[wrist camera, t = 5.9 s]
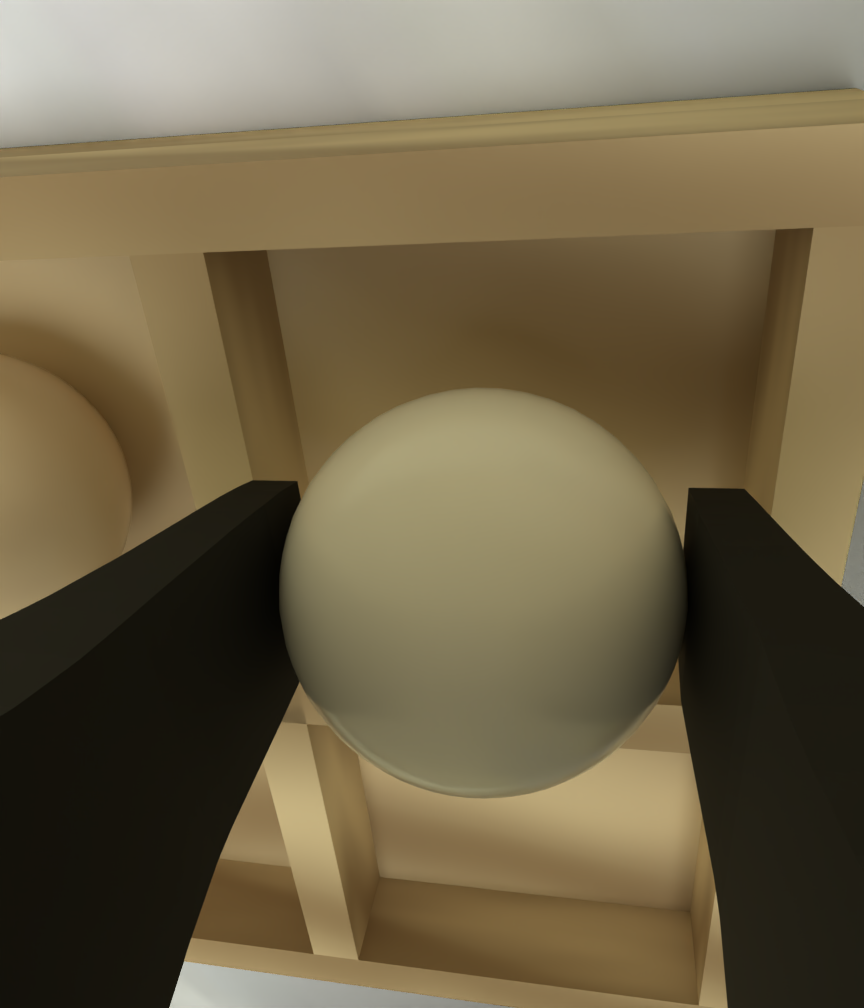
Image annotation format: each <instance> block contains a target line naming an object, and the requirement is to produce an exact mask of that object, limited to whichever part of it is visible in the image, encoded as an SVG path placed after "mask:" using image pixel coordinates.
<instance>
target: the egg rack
mask: <svg viewBox="0 0 864 1008" xmlns="http://www.w3.org/2000/svg"><path fill="white" fill-rule="evenodd" d="M0 353H1V354H5V355H9V356H12V357H15V358H18V359H21V360H24V361H27V362H29V363H32V364H34V365H36V366H38V367H41V368H43V369H45V370H47V371H49V372H50V373H52V374H54V375H56V376H58V377H59V378H61V379H62V380H63V381H65V382H66V383H68V384H69V385H71V386H72V387H73V388H74V389H76V390H77V391H78V392H79V393H80V394H81V395H83V396H84V397H85V398H86V399H87V400H88V401H89V402H90V403H91V404H92V405H93V406H94V407H95V408H96V410H97V411H98V412H99V413H100V415H101V416H102V417H103V418H104V420H105V421H106V422H107V424H108V425H109V427H110V429H111V430H112V432H113V433H114V435H115V437H116V439H117V441H118V443H119V445H120V447H121V449H122V452H123V455H124V457H125V460H126V464H127V468H128V472H129V476H130V481H131V489H132V516H131V524H130V528H129V533H128V537H127V541H126V545H125V548H124V550H123V552H122V555H123V554H125V553H126V552H128V551H130V550H131V549H133V548H135V547H136V546H138V545H140V544H141V543H143V542H145V541H146V540H148V539H150V538H151V537H153V536H155V535H156V534H158V533H160V532H161V531H163V530H165V529H166V528H168V527H170V526H171V525H173V524H175V523H176V522H178V521H180V520H181V519H183V518H185V517H186V516H188V515H190V514H191V513H193V512H195V511H196V510H198V509H200V508H201V507H203V506H205V505H206V504H208V503H210V502H211V501H213V500H215V499H217V498H218V497H220V496H222V495H224V494H225V493H227V492H229V491H231V490H233V489H235V488H237V487H239V486H241V485H243V484H245V483H247V482H250V481H252V480H268V481H298V487H299V492H300V497H301V499H302V497H303V495H304V493H305V491H306V489H307V487H308V485H309V484H310V482H311V481H312V479H313V478H314V477H315V475H316V474H317V473H318V471H319V470H320V469H321V467H322V466H323V465H324V463H325V462H326V461H327V460H328V458H329V457H330V456H331V455H332V453H333V452H334V451H335V450H336V449H337V448H339V447H340V446H341V445H342V444H343V443H344V442H345V441H346V440H347V439H348V438H349V437H350V436H351V435H353V434H354V433H355V432H357V431H358V430H359V429H361V428H362V427H364V426H365V425H366V424H368V423H369V422H371V421H372V420H373V419H375V418H376V417H378V416H379V415H381V414H383V413H385V412H387V411H389V410H391V409H393V408H395V407H397V406H399V405H402V404H404V403H407V402H410V401H413V400H415V399H418V398H421V397H424V396H427V395H430V394H435V393H440V392H444V391H449V390H455V389H466V388H502V389H508V390H515V391H521V392H527V393H530V394H534V395H537V396H541V397H545V398H548V399H551V400H554V401H556V402H558V403H561V404H563V405H565V406H568V407H570V408H573V409H575V410H576V411H578V412H580V413H581V414H583V415H585V416H587V417H588V418H590V419H592V420H594V421H595V422H597V423H598V424H599V425H600V426H602V427H603V428H604V429H606V430H607V431H608V432H610V433H611V434H612V435H614V436H615V437H616V438H617V439H618V440H619V441H620V442H621V443H622V444H623V445H624V446H625V447H626V448H627V449H628V450H629V451H630V452H631V453H632V454H633V455H634V456H635V457H636V458H637V459H638V460H639V461H640V462H641V464H642V465H643V466H644V467H645V469H646V470H647V471H648V473H649V474H650V475H651V477H652V478H653V480H654V481H655V483H656V485H657V487H658V489H659V490H660V492H661V494H662V496H663V498H664V499H665V501H666V503H667V505H668V507H669V509H670V510H671V513H672V515H673V518H674V521H675V524H676V526H677V529H678V532H679V535H680V539H681V543H682V547H683V546H684V534H685V523H686V511H687V500H688V488H738V489H745V490H746V491H747V492H748V493H749V494H750V495H751V496H752V497H753V498H754V499H755V500H756V501H757V502H758V503H759V504H760V505H761V506H762V507H763V508H764V509H765V510H766V512H767V513H768V514H769V515H770V516H771V517H772V518H773V519H774V520H775V521H776V522H777V523H778V524H779V525H780V526H781V527H782V528H783V530H784V531H785V532H786V533H787V534H788V535H789V536H790V537H791V538H792V539H793V540H794V541H795V542H796V543H797V544H798V545H799V546H800V547H801V548H802V549H803V550H804V551H805V552H806V553H807V554H808V555H809V556H810V557H811V558H812V559H813V560H814V561H815V562H816V563H817V564H818V565H819V566H820V567H821V568H822V569H823V570H824V571H825V572H826V573H827V574H828V575H829V576H830V577H831V578H832V579H833V580H834V581H835V582H837V583H838V584H839V585H840V586H841V584H842V580H843V575H844V570H845V565H846V560H847V556H848V551H849V546H850V541H851V536H852V532H853V527H854V522H855V517H856V512H857V508H858V503H859V498H860V493H861V489H862V484H863V479H864V91H862V90H860V89H857V88H853V89H839V90H824V91H810V92H796V93H782V94H768V95H753V96H739V97H725V98H711V99H697V100H683V101H668V102H654V103H640V104H626V105H612V106H598V107H583V108H569V109H555V110H541V111H527V112H512V113H498V114H484V115H470V116H456V117H442V118H427V119H413V120H399V121H385V122H371V123H356V124H342V125H328V126H314V127H300V128H286V129H271V130H257V131H243V132H229V133H215V134H200V135H186V136H172V137H158V138H144V139H130V140H115V141H101V142H87V143H73V144H59V145H45V146H30V147H16V148H2V149H0ZM184 961H186V962H193V963H201V964H208V965H215V966H222V967H229V968H236V969H244V970H251V971H258V972H265V973H272V974H279V975H286V976H294V977H301V978H308V979H315V980H322V981H329V982H336V983H344V984H351V985H358V986H365V987H372V988H379V989H387V990H394V991H401V992H408V993H415V994H422V995H429V996H437V997H444V998H451V999H458V1000H465V1001H472V1002H479V1003H487V1004H494V1005H501V1006H508V1007H515V1008H728V1006H727V995H726V983H725V972H724V961H723V949H722V938H721V927H720V917H719V910H718V903H717V896H716V889H715V882H714V875H713V870H712V865H711V859H710V854H709V849H708V844H707V838H706V833H705V828H704V823H703V817H702V812H701V807H700V801H699V796H698V791H697V786H696V780H695V775H694V770H693V764H692V759H691V754H690V748H689V743H688V738H687V732H686V727H685V721H684V716H683V710H682V705H681V695H680V680H679V664H678V660H677V663H676V666H675V669H674V671H673V673H672V675H671V677H670V680H669V682H668V684H667V686H666V688H665V690H664V692H663V694H662V695H661V697H660V699H659V701H658V703H657V704H656V706H655V707H654V708H653V710H652V711H651V712H650V714H649V715H648V716H647V718H646V719H645V720H644V722H643V723H642V724H641V725H640V727H639V728H638V729H637V731H636V732H635V733H634V734H633V735H632V736H631V737H630V738H629V739H628V740H627V741H626V742H625V743H624V744H623V745H622V746H621V747H620V748H618V749H617V750H616V751H615V752H613V753H612V754H611V755H610V756H609V757H607V758H606V759H605V760H603V761H602V762H600V763H599V764H598V765H596V766H595V767H593V768H592V769H590V770H588V771H586V772H584V773H582V774H581V775H579V776H577V777H575V778H573V779H570V780H568V781H566V782H564V783H561V784H559V785H556V786H554V787H551V788H549V789H546V790H542V791H538V792H535V793H531V794H526V795H520V796H513V797H504V798H487V799H481V798H463V797H455V796H448V795H444V794H439V793H434V792H431V791H428V790H424V789H421V788H418V787H415V786H413V785H410V784H408V783H405V782H403V781H400V780H398V779H396V778H395V777H393V776H391V775H389V774H387V773H385V772H383V771H382V770H380V769H379V768H377V767H375V766H374V765H372V764H371V763H369V762H368V761H366V760H364V759H363V758H362V757H361V756H359V755H358V754H357V753H355V752H354V751H353V750H351V749H350V748H349V747H348V746H347V745H346V744H345V743H344V742H343V741H342V740H341V739H340V738H339V737H338V736H337V735H336V734H335V733H334V732H333V731H332V730H331V728H330V727H329V726H328V725H327V724H326V722H325V721H324V720H323V719H322V717H321V716H320V715H319V714H318V712H317V711H316V709H315V708H314V706H313V705H312V703H311V702H310V700H309V699H308V697H307V696H306V694H305V692H304V690H303V687H302V685H301V683H300V682H299V684H298V687H297V689H296V691H295V693H294V696H293V698H292V700H291V702H290V704H289V706H288V709H287V711H286V713H285V715H284V717H283V720H282V722H281V724H280V726H279V728H278V730H277V733H276V735H275V737H274V739H273V741H272V743H271V745H270V748H269V750H268V752H267V754H266V756H265V758H264V760H263V762H262V765H261V767H260V769H259V771H258V773H257V775H256V777H255V779H254V782H253V784H252V786H251V788H250V790H249V792H248V794H247V797H246V799H245V801H244V803H243V805H242V807H241V809H240V811H239V814H238V816H237V818H236V820H235V822H234V824H233V826H232V829H231V831H230V834H229V836H228V838H227V841H226V843H225V846H224V848H223V850H222V853H221V855H220V858H219V860H218V863H217V865H216V868H215V871H214V874H213V877H212V880H211V883H210V886H209V889H208V891H207V894H206V897H205V900H204V903H203V906H202V909H201V912H200V915H199V917H198V920H197V923H196V926H195V929H194V932H193V935H192V938H191V941H190V944H189V947H188V950H187V953H186V956H185V959H184Z"/></svg>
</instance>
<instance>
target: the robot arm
mask: <svg viewBox="0 0 864 1008" xmlns="http://www.w3.org/2000/svg"><path fill="white" fill-rule="evenodd" d="M300 501H301V497H300V492H299V487H298V481H268V480H252V481H250V482H247V483H245V484H243V485H241V486H239V487H237V488H235V489H233V490H231V491H229V492H227V493H225V494H224V495H222V496H220V497H218V498H217V499H215V500H213V501H211V502H210V503H208V504H206V505H205V506H203V507H201V508H200V509H198V510H196V511H195V512H193V513H191V514H190V515H188V516H186V517H185V518H183V519H181V520H180V521H178V522H176V523H175V524H173V525H171V526H170V527H168V528H166V529H165V530H163V531H161V532H160V533H158V534H156V535H155V536H153V537H151V538H150V539H148V540H146V541H145V542H143V543H141V544H140V545H138V546H136V547H135V548H133V549H131V550H130V551H128V552H126V553H125V554H123V555H121V556H119V557H118V558H116V559H114V560H112V561H110V562H109V563H107V564H105V565H103V566H101V567H100V568H98V569H96V570H94V571H92V572H90V573H89V574H87V575H85V576H83V577H81V578H80V579H78V580H76V581H74V582H72V583H71V584H69V585H67V586H65V587H63V588H62V589H60V590H58V591H56V592H54V593H53V594H51V595H49V596H47V597H45V598H43V599H41V600H39V601H37V602H35V603H33V604H31V605H29V606H27V607H25V608H23V609H21V610H19V611H17V612H15V613H13V614H11V615H9V616H7V617H5V618H2V619H0V1008H169V1006H170V1003H171V1000H172V997H173V994H174V991H175V988H176V984H177V981H178V978H179V975H180V972H181V969H182V966H183V962H184V959H185V956H186V953H187V950H188V947H189V944H190V941H191V938H192V935H193V932H194V929H195V926H196V923H197V920H198V917H199V915H200V912H201V909H202V906H203V903H204V900H205V897H206V894H207V891H208V889H209V886H210V883H211V880H212V877H213V874H214V871H215V868H216V865H217V863H218V860H219V858H220V855H221V853H222V850H223V848H224V846H225V843H226V841H227V838H228V836H229V834H230V831H231V829H232V826H233V824H234V822H235V820H236V818H237V816H238V814H239V811H240V809H241V807H242V805H243V803H244V801H245V799H246V797H247V794H248V792H249V790H250V788H251V786H252V784H253V782H254V779H255V777H256V775H257V773H258V771H259V769H260V767H261V765H262V762H263V760H264V758H265V756H266V754H267V752H268V750H269V748H270V745H271V743H272V741H273V739H274V737H275V735H276V733H277V730H278V728H279V726H280V724H281V722H282V720H283V717H284V715H285V713H286V711H287V709H288V706H289V704H290V702H291V700H292V698H293V696H294V693H295V691H296V689H297V687H298V684H299V682H300V681H299V679H298V677H297V675H296V673H295V670H294V668H293V666H292V663H291V660H290V657H289V654H288V651H287V648H286V644H285V639H284V634H283V629H282V623H281V617H280V611H279V573H280V567H281V560H282V553H283V549H284V545H285V540H286V536H287V533H288V530H289V527H290V524H291V521H292V518H293V515H294V513H295V511H296V509H297V507H298V505H299V503H300ZM683 552H684V557H685V562H686V567H687V586H688V613H687V620H686V626H685V633H684V637H683V642H682V647H681V651H680V654H679V657H678V664H679V680H680V695H681V705H682V710H683V716H684V721H685V727H686V732H687V738H688V743H689V748H690V754H691V759H692V764H693V770H694V775H695V780H696V786H697V791H698V796H699V801H700V807H701V812H702V817H703V823H704V828H705V833H706V838H707V844H708V849H709V854H710V859H711V865H712V870H713V875H714V882H715V889H716V896H717V903H718V910H719V917H720V927H721V938H722V949H723V961H724V972H725V983H726V995H727V1006H728V1008H864V607H863V606H862V605H861V604H860V603H859V602H857V601H856V600H855V599H854V598H853V597H852V596H851V595H850V594H848V593H847V592H846V591H845V590H844V589H843V588H842V587H841V586H840V585H839V584H838V583H837V582H835V581H834V580H833V579H832V578H831V577H830V576H829V575H828V574H827V573H826V572H825V571H824V570H823V569H822V568H821V567H820V566H819V565H818V564H817V563H816V562H815V561H814V560H813V559H812V558H811V557H810V556H809V555H808V554H807V553H806V552H805V551H804V550H803V549H802V548H801V547H800V546H799V545H798V544H797V543H796V542H795V541H794V540H793V539H792V538H791V537H790V536H789V535H788V534H787V533H786V532H785V531H784V530H783V528H782V527H781V526H780V525H779V524H778V523H777V522H776V521H775V520H774V519H773V518H772V517H771V516H770V515H769V514H768V513H767V512H766V510H765V509H764V508H763V507H762V506H761V505H760V504H759V503H758V502H757V501H756V500H755V499H754V498H753V497H752V496H751V495H750V494H749V493H748V492H747V491H746V490H745V489H738V488H688V500H687V511H686V523H685V534H684V546H683Z"/></svg>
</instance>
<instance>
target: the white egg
mask: <svg viewBox="0 0 864 1008" xmlns="http://www.w3.org/2000/svg"><path fill="white" fill-rule="evenodd" d="M279 611H280V617H281V623H282V629H283V634H284V639H285V644H286V648H287V651H288V654H289V657H290V660H291V663H292V666H293V668H294V670H295V673H296V675H297V677H298V679H299V681H300V683H301V685H302V687H303V690H304V692H305V694H306V696H307V697H308V699H309V700H310V702H311V703H312V705H313V706H314V708H315V709H316V711H317V712H318V714H319V715H320V716H321V717H322V719H323V720H324V721H325V722H326V724H327V725H328V726H329V727H330V728H331V730H332V731H333V732H334V733H335V734H336V735H337V736H338V737H339V738H340V739H341V740H342V741H343V742H344V743H345V744H346V745H347V746H348V747H349V748H350V749H351V750H353V751H354V752H355V753H357V754H358V755H359V756H361V757H362V758H363V759H364V760H366V761H368V762H369V763H371V764H372V765H374V766H375V767H377V768H379V769H380V770H382V771H383V772H385V773H387V774H389V775H391V776H393V777H395V778H396V779H398V780H400V781H403V782H405V783H408V784H410V785H413V786H415V787H418V788H421V789H424V790H428V791H431V792H434V793H439V794H444V795H448V796H455V797H463V798H481V799H487V798H504V797H513V796H520V795H526V794H531V793H535V792H538V791H542V790H546V789H549V788H551V787H554V786H556V785H559V784H561V783H564V782H566V781H568V780H570V779H573V778H575V777H577V776H579V775H581V774H582V773H584V772H586V771H588V770H590V769H592V768H593V767H595V766H596V765H598V764H599V763H600V762H602V761H603V760H605V759H606V758H607V757H609V756H610V755H611V754H612V753H613V752H615V751H616V750H617V749H618V748H620V747H621V746H622V745H623V744H624V743H625V742H626V741H627V740H628V739H629V738H630V737H631V736H632V735H633V734H634V733H635V732H636V731H637V729H638V728H639V727H640V725H641V724H642V723H643V722H644V720H645V719H646V718H647V716H648V715H649V714H650V712H651V711H652V710H653V708H654V707H655V706H656V704H657V703H658V701H659V699H660V697H661V695H662V694H663V692H664V690H665V688H666V686H667V684H668V682H669V680H670V677H671V675H672V673H673V671H674V669H675V666H676V663H677V660H678V657H679V654H680V651H681V647H682V642H683V637H684V633H685V626H686V620H687V613H688V586H687V567H686V562H685V557H684V552H683V547H682V543H681V539H680V535H679V532H678V529H677V526H676V524H675V521H674V518H673V515H672V513H671V510H670V509H669V507H668V505H667V503H666V501H665V499H664V498H663V496H662V494H661V492H660V490H659V489H658V487H657V485H656V483H655V481H654V480H653V478H652V477H651V475H650V474H649V473H648V471H647V470H646V469H645V467H644V466H643V465H642V464H641V462H640V461H639V460H638V459H637V458H636V457H635V456H634V455H633V454H632V453H631V452H630V451H629V450H628V449H627V448H626V447H625V446H624V445H623V444H622V443H621V442H620V441H619V440H618V439H617V438H616V437H615V436H614V435H612V434H611V433H610V432H608V431H607V430H606V429H604V428H603V427H602V426H600V425H599V424H598V423H597V422H595V421H594V420H592V419H590V418H588V417H587V416H585V415H583V414H581V413H580V412H578V411H576V410H575V409H573V408H570V407H568V406H565V405H563V404H561V403H558V402H556V401H554V400H551V399H548V398H545V397H541V396H537V395H534V394H530V393H527V392H521V391H515V390H508V389H502V388H466V389H455V390H449V391H444V392H440V393H435V394H430V395H427V396H424V397H421V398H418V399H415V400H413V401H410V402H407V403H404V404H402V405H399V406H397V407H395V408H393V409H391V410H389V411H387V412H385V413H383V414H381V415H379V416H378V417H376V418H375V419H373V420H372V421H371V422H369V423H368V424H366V425H365V426H364V427H362V428H361V429H359V430H358V431H357V432H355V433H354V434H353V435H351V436H350V437H349V438H348V439H347V440H346V441H345V442H344V443H343V444H342V445H341V446H340V447H339V448H337V449H336V450H335V451H334V452H333V453H332V455H331V456H330V457H329V458H328V460H327V461H326V462H325V463H324V465H323V466H322V467H321V469H320V470H319V471H318V473H317V474H316V475H315V477H314V478H313V479H312V481H311V482H310V484H309V485H308V487H307V489H306V491H305V493H304V495H303V497H302V499H301V501H300V503H299V505H298V507H297V509H296V511H295V513H294V515H293V518H292V521H291V524H290V527H289V530H288V533H287V536H286V540H285V545H284V549H283V553H282V560H281V567H280V573H279Z"/></svg>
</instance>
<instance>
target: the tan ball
mask: <svg viewBox="0 0 864 1008" xmlns="http://www.w3.org/2000/svg"><path fill="white" fill-rule="evenodd" d="M131 516H132V489H131V481H130V476H129V472H128V468H127V464H126V460H125V457H124V455H123V452H122V449H121V447H120V445H119V443H118V441H117V439H116V437H115V435H114V433H113V432H112V430H111V429H110V427H109V425H108V424H107V422H106V421H105V420H104V418H103V417H102V416H101V415H100V413H99V412H98V411H97V410H96V408H95V407H94V406H93V405H92V404H91V403H90V402H89V401H88V400H87V399H86V398H85V397H84V396H83V395H81V394H80V393H79V392H78V391H77V390H76V389H74V388H73V387H72V386H71V385H69V384H68V383H66V382H65V381H63V380H62V379H61V378H59V377H58V376H56V375H54V374H52V373H50V372H49V371H47V370H45V369H43V368H41V367H38V366H36V365H34V364H32V363H29V362H27V361H24V360H21V359H18V358H15V357H12V356H9V355H5V354H1V353H0V619H2V618H5V617H7V616H9V615H11V614H13V613H15V612H17V611H19V610H21V609H23V608H25V607H27V606H29V605H31V604H33V603H35V602H37V601H39V600H41V599H43V598H45V597H47V596H49V595H51V594H53V593H54V592H56V591H58V590H60V589H62V588H63V587H65V586H67V585H69V584H71V583H72V582H74V581H76V580H78V579H80V578H81V577H83V576H85V575H87V574H89V573H90V572H92V571H94V570H96V569H98V568H100V567H101V566H103V565H105V564H107V563H109V562H110V561H112V560H114V559H116V558H118V557H119V556H121V555H122V552H123V550H124V548H125V545H126V541H127V537H128V533H129V528H130V524H131Z"/></svg>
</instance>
